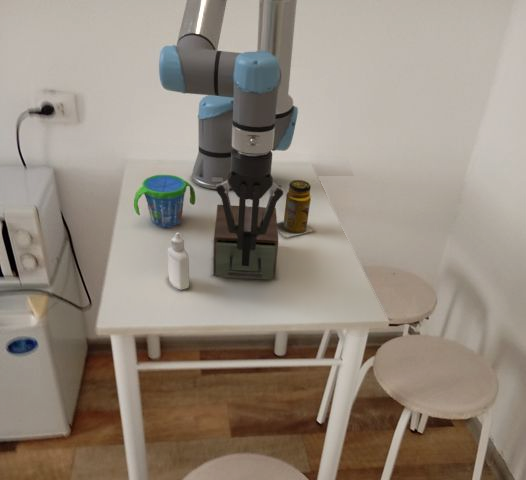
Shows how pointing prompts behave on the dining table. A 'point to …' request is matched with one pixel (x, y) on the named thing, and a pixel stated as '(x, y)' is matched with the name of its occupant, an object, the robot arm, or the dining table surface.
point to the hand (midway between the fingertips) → (245, 262)
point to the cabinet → (225, 235)
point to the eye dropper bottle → (178, 263)
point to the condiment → (296, 209)
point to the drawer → (232, 261)
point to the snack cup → (164, 198)
